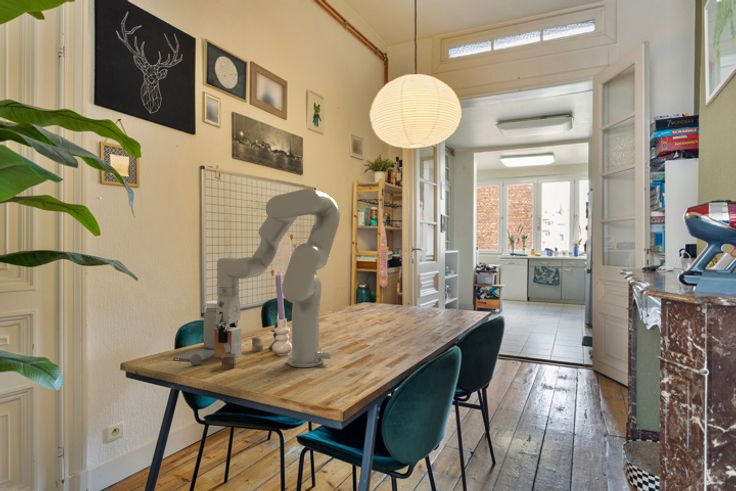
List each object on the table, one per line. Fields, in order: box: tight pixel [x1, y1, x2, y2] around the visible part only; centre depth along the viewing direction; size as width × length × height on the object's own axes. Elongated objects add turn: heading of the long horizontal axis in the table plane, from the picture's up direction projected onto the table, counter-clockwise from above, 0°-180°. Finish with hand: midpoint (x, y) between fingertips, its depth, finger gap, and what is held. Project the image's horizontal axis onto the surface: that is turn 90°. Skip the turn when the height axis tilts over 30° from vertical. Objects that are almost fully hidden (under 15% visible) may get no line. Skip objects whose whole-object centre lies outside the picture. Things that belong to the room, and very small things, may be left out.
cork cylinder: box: [251, 336, 264, 353], centre depth 158 cm, size 4×4×5 cm
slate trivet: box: [172, 348, 215, 362], centre depth 150 cm, size 12×12×1 cm
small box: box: [213, 327, 243, 359], centre depth 149 cm, size 8×6×10 cm
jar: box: [203, 300, 229, 350], centre depth 164 cm, size 10×10×18 cm
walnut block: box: [221, 354, 237, 370], centre depth 138 cm, size 4×4×4 cm
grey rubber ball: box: [189, 354, 201, 366], centre depth 139 cm, size 4×4×4 cm
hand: (227, 339), depth 149 cm, fingers closed on small box, 6 cm apart
